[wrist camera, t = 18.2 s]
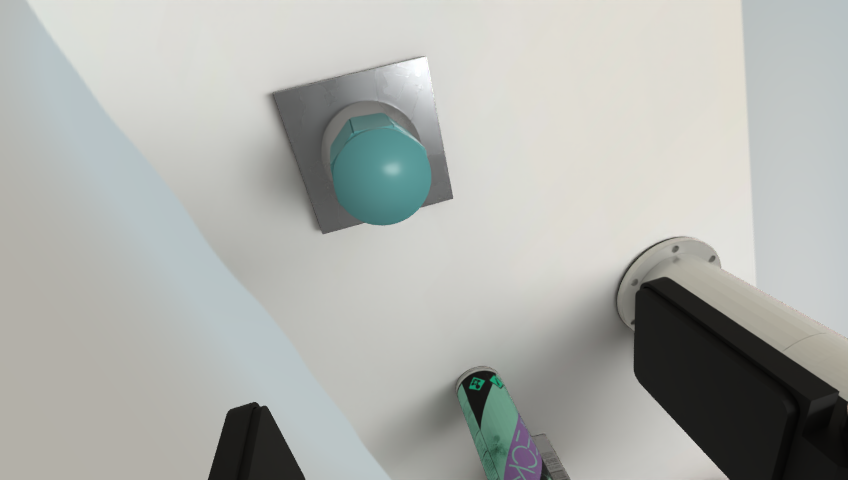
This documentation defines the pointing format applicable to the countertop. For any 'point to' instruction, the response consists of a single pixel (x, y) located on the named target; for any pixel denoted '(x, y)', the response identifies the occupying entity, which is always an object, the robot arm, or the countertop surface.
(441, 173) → the acorn nut on plate
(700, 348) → the robot arm
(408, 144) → the cap
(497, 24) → the countertop surface
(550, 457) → the coffee box
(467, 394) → the spray can
